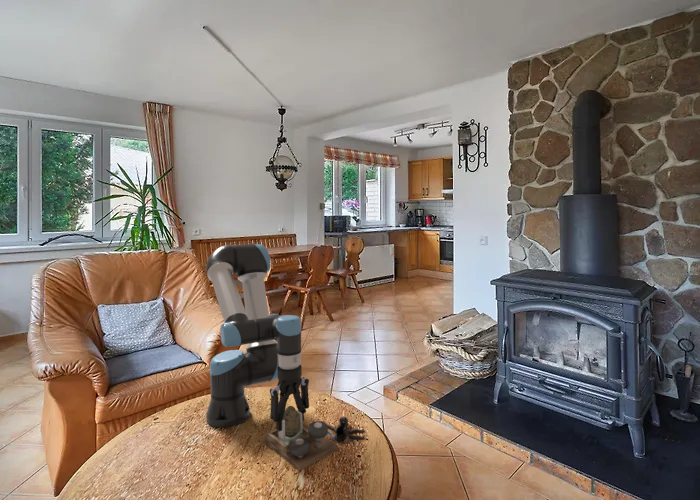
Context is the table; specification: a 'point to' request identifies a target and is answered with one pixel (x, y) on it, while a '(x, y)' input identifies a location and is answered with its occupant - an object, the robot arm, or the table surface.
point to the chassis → (300, 447)
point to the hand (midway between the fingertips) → (290, 435)
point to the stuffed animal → (344, 431)
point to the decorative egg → (291, 421)
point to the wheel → (318, 429)
